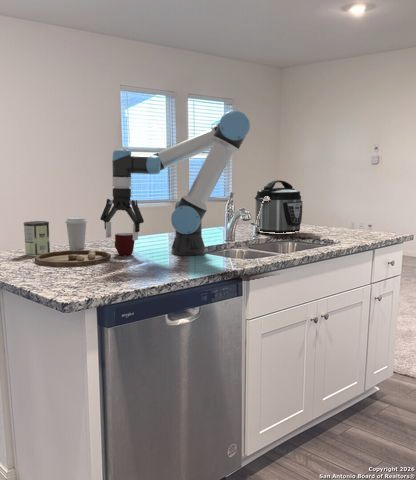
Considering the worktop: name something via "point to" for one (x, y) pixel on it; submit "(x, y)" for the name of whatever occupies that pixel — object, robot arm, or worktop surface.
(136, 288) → the worktop surface
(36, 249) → the coffee can
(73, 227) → the coffee cup
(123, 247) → the mug
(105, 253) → the ring tray
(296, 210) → the pressure cooker
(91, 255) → the bead
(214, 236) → the worktop surface
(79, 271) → the worktop surface
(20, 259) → the worktop surface
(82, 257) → the bead
